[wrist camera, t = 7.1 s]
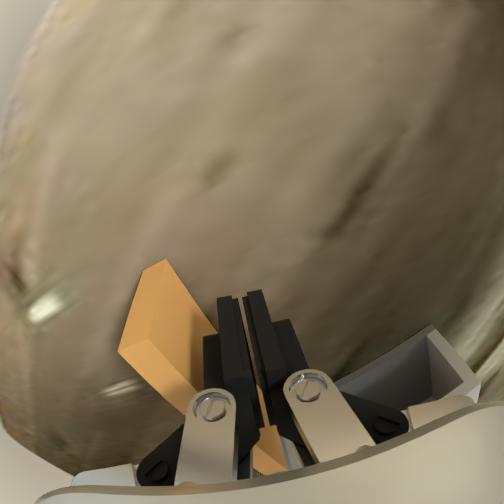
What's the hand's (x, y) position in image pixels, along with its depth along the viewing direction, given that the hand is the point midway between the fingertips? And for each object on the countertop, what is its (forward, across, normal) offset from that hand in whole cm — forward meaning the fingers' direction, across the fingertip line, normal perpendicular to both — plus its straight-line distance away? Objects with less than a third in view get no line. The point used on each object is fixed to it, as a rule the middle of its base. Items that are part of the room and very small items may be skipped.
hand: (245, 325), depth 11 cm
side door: (+3, +2, +4) cm, 5 cm away
